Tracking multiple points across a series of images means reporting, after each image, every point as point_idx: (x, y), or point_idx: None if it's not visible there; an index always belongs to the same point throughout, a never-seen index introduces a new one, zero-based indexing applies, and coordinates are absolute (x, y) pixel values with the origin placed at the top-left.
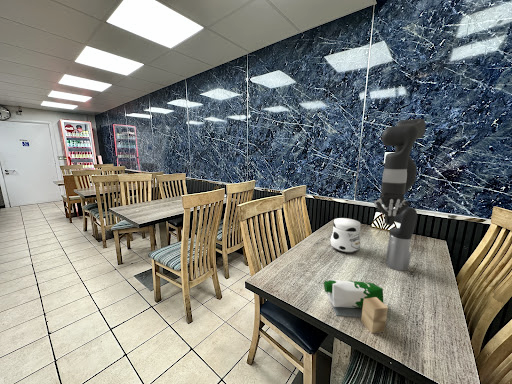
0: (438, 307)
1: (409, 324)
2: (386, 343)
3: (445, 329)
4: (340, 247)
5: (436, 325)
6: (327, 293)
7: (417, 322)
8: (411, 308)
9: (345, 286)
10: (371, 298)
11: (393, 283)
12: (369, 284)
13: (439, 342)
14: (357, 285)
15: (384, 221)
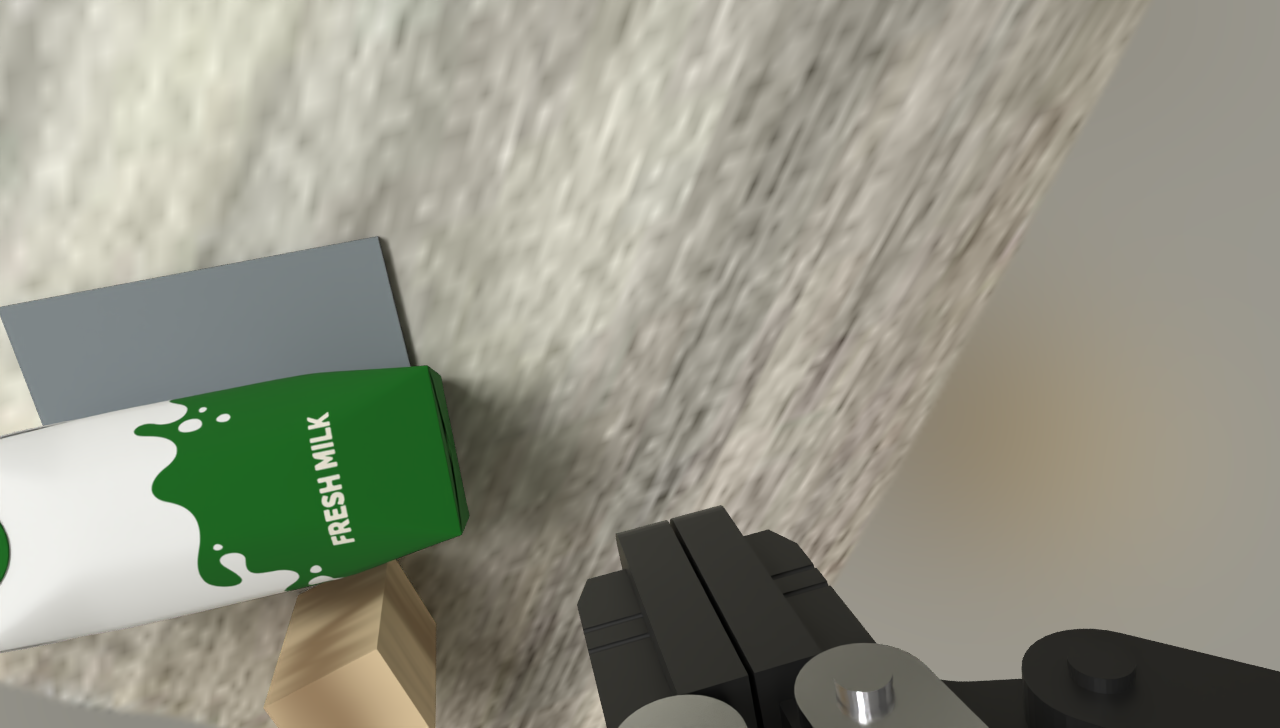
0: (894, 279)
1: (615, 515)
2: None
3: (809, 485)
4: None
5: (777, 468)
6: (26, 379)
7: (674, 480)
8: (701, 350)
9: (106, 605)
10: (331, 680)
11: (705, 22)
12: (355, 498)
13: None
14: (229, 561)
15: (579, 601)
